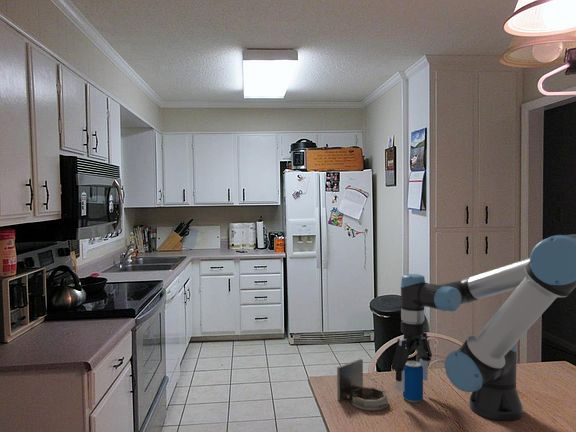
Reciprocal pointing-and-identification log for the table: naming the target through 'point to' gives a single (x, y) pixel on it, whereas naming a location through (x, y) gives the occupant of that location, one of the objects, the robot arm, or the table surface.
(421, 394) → the beverage can
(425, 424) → the table surface
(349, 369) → the cup bracket
